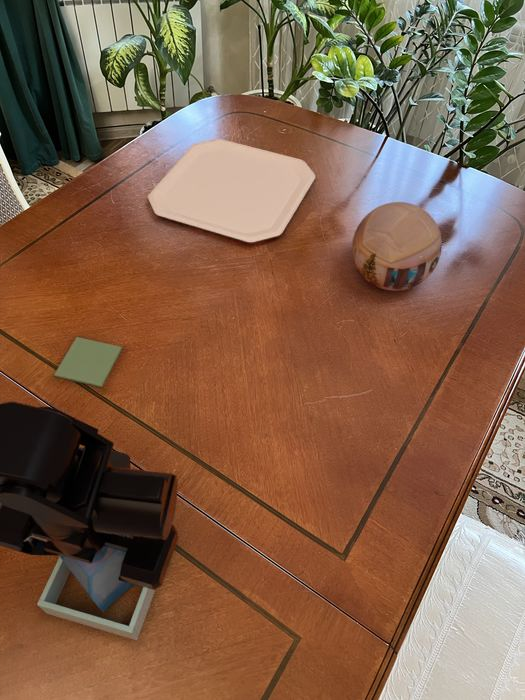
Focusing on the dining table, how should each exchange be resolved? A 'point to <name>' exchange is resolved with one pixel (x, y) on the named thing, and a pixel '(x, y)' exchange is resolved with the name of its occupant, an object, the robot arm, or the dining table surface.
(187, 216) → the plate
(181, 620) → the dining table surface
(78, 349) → the mat
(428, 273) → the ornament
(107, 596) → the perfume bottle
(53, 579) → the square frame
